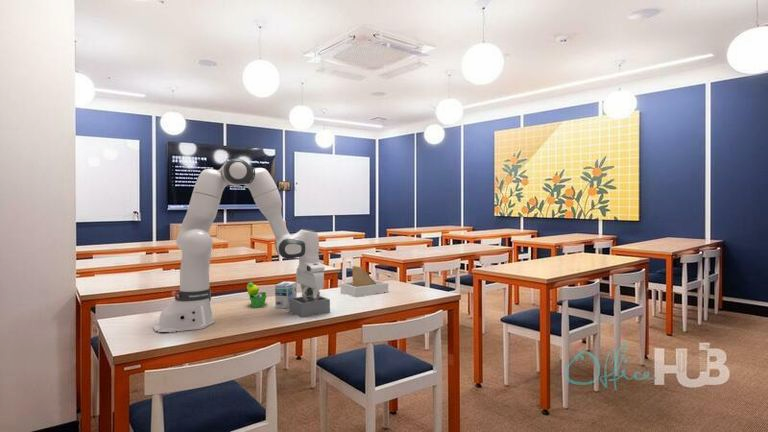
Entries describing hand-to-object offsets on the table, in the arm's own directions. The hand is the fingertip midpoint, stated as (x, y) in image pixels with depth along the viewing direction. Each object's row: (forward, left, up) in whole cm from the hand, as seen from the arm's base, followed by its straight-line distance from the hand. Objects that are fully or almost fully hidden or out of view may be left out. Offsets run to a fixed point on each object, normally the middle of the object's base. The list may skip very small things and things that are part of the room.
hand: (309, 296), depth 206 cm
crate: (0, 0, -7) cm, 7 cm away
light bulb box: (-3, +18, -8) cm, 20 cm away
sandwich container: (+46, +20, -8) cm, 51 cm away
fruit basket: (-14, +27, -8) cm, 31 cm away
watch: (+1, 0, -6) cm, 7 cm away
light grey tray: (+44, +21, -7) cm, 49 cm away
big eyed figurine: (+17, +31, -8) cm, 36 cm away
